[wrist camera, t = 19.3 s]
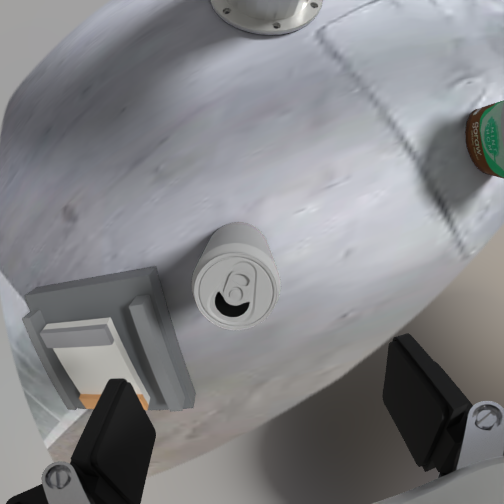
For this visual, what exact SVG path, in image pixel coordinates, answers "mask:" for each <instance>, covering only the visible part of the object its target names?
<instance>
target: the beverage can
mask: <svg viewBox="0 0 504 504" xmlns="http://www.w3.org/2000/svg"><path fill="white" fill-rule="evenodd" d="M280 291H281V280H280V275H279V272H278V269H277V266H276V264H275V261H274V258H273V256H272V253H271V250H270V248H269V245H268V242H267V240H266V238H265V236H264V235H263V234H262V233H261V231H259V230H258V229H257V228H256V227H254V226H252V225H250V224H247V223H242V222H234V223H229V224H226V225H224V226H222V227H221V228H219V229H218V230H217V231H216V232H215V233H214V234H213V235H212V237H211V238H210V240H209V242H208V244H207V246H206V248H205V250H204V252H203V254H202V256H201V258H200V259H199V261H198V263H197V265H196V267H195V270H194V272H193V276H192V293H193V297H194V299H195V302H196V304H197V307H198V308H199V310H200V312H201V313H202V314H203V315H204V317H205V318H206V319H207V320H208V321H210V322H211V323H213V324H214V325H216V326H218V327H221V328H224V329H228V330H245V329H249V328H252V327H254V326H256V325H258V324H260V323H261V322H263V321H264V320H265V319H266V318H267V317H268V316H269V315H270V314H271V312H272V310H273V309H274V307H275V305H276V303H277V301H278V299H279V295H280Z"/></svg>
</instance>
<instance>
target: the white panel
mask: <svg viewBox="0 0 504 504" xmlns="http://www.w3.org/2000/svg"><path fill="white" fill-rule="evenodd" d="M40 336H41V337H42V339H43V341H44V343H45V345H46V347H47V348H53V350H54V352H55V353H56V355H57V357H58V359H59V360H60V362H61V364H62V365H63V367H64V369H65V370H66V372H67V374H68V375H69V377H70V378H71V380H72V381H73V383H74V385H75V386H76V388H77V389H78V391H79V392H80V397H79V399H80V401H81V402H82V404H83V405H84V406H85V408H86V409H94V408H95V406H96V404H97V402H98V400H99V398H100V396H101V394H102V392H103V390H104V388H105V386H106V384H107V382H108V381H109V379H118V378H123V379H126V380H127V382H130V383H131V384H132V386H133V388H134V390H135V392H136V394H137V396H138V398H139V400H140V402H141V404H142V406H143V408H144V410H148V406H149V402H150V396H149V395H148V393H147V391H146V389H145V387H144V385H143V384H142V382H141V380H140V378H139V376H138V374H137V372H136V370H135V368H134V366H133V364H132V362H131V360H130V358H129V356H128V354H127V352H126V350H125V348H124V346H123V344H122V342H121V339H120V337H119V335H118V333H117V331H116V328H115V326H114V324H113V322H112V319H111V317H109V318H100V319H91V320H81V321H71V322H61V323H50V324H47V325H46V326H45V327H44V328H43V330H42V331H41V332H40Z"/></svg>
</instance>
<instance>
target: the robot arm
mask: <svg viewBox="0 0 504 504" xmlns="http://www.w3.org/2000/svg"><path fill="white" fill-rule="evenodd" d="M210 1H211V4H212V6H213V8H214V10H215V12H216V13H217V14H218V15H219V16H220V17H221V18H222V19H223V20H224V21H226V22H227V23H229V24H230V25H232V26H234V27H236V28H238V29H241V30H244V31H246V32H251V33H255V34H263V35H280V34H285V33H291V32H294V31H296V30H299V29H301V28H303V27H305V26H307V25H308V24H309V23H310V22H312V21H313V20H314V19H315V17H316V16H317V14H318V13H319V11H320V9H321V7H322V2H323V0H210ZM226 13H229V14H226ZM275 27H276V28H277V29H275ZM383 401H384V404H385V405H386V407H387V409H388V411H389V413H390V415H391V417H392V419H393V420H394V422H395V424H396V426H397V428H398V430H399V432H400V433H401V435H402V437H403V439H404V441H405V443H406V445H407V447H408V449H409V451H410V452H411V454H412V456H413V458H414V460H415V462H416V464H417V465H418V466H419V467H420V466H422V467H423V469H424V471H425V472H426V471H429V470H431V469H433V468H435V467H436V469H437V470H438V472H440V473H439V476H438V479H435V480H433V481H431V482H429V483H426V484H424V485H422V486H419V487H417V488H414V489H412V490H409V491H407V492H404V493H401V494H399V495H396V496H393V497H390V498H388V499H385V500H382V501H379V502H376V503H373V504H504V409H503V408H502V407H501V406H500V405H499V404H497V403H495V402H491V401H482V402H479V403H477V404H475V405H474V406H473V405H472V404H471V403H470V401H469V400H468V399H467V398H466V396H465V395H464V394H463V393H462V392H461V390H460V389H459V388H458V387H457V386H456V384H455V383H454V382H453V381H452V380H451V378H450V377H449V376H448V375H447V374H446V373H445V371H444V370H443V369H442V368H441V367H440V366H439V364H437V363H436V362H435V361H433V360H432V359H431V357H430V356H429V355H428V354H427V353H426V352H425V351H424V349H423V348H422V347H421V346H420V345H419V344H418V343H417V341H416V340H415V339H414V338H413V337H412V336H411V335H410V334H404V335H401V336H398V337H394V338H393V341H392V342H390V343H389V348H388V357H387V366H386V374H385V382H384V389H383ZM155 438H156V432H155V429H154V427H153V425H152V423H151V421H150V419H149V418H148V416H147V414H146V412H145V410H144V408H143V406H142V404H141V402H140V400H139V398H138V396H137V394H136V392H135V390H134V388H133V386H132V384H131V383H130V382H127V380H126V379H123V378H118V379H109V381H108V382H107V384H106V386H105V388H104V390H103V392H102V394H101V396H100V398H99V400H98V402H97V404H96V406H95V408H94V410H93V412H92V414H91V416H90V418H89V420H88V422H87V425H86V427H85V429H84V431H83V433H82V435H81V437H80V439H79V442H78V444H77V446H76V448H75V450H74V453H73V455H72V457H71V463H70V464H69V463H67V462H59V461H58V462H55V463H52V464H51V465H49V466H48V467H47V468H46V469H45V470H44V472H43V474H42V484H41V485H39V486H36V487H34V488H32V489H30V490H28V491H25V492H23V493H21V494H18V495H16V496H14V497H12V498H10V499H9V500H8V501H7V503H6V504H140V503H141V498H142V494H143V489H144V485H145V480H146V476H147V471H148V467H149V463H150V459H151V454H152V450H153V446H154V442H155Z"/></svg>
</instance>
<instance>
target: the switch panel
mask: <svg viewBox="0 0 504 504" xmlns="http://www.w3.org/2000/svg"><path fill="white" fill-rule="evenodd" d="M25 299H26V301H27V304H28V307H29V309H30V312H29V313H28V314H27V315H26V316H25V317H23V318H22V320H23V323H24V325H25V327H26V330H27V332H28V334H29V337H30V339H31V341H32V343H33V346H34V348H35V350H36V352H37V354H38V356H39V358H40V360H41V362H42V364H43V366H44V368H45V370H46V372H47V374H48V376H49V378H50V379H51V381H52V383H53V385H54V387H55V388H56V390H57V392H58V394H59V395H60V397H61V399H62V400H63V402H64V404H65V405H66V407H67V409H70V410H76V409H77V407H78V408H80V409H86V408H85V406H84V405H83V404H82V402H81V401H80V399H79V397H80V392H79V391H78V389H77V388H76V386H75V385H74V383H73V381H72V380H71V378H70V377H69V375H68V374H67V372H66V370H65V369H64V367H63V365H62V364H61V362H60V360H59V359H58V357H57V355H56V353H55V352H54V350H53V348H47V347H46V345H45V343H44V341H43V339H42V337H41V336H40V332H41V331H42V330H43V328H44V327H45V326H46V325H47V324H50V323H61V322H71V321H81V320H91V319H100V318H109V317H111V319H112V322H113V324H114V326H115V328H116V331H117V333H118V335H119V337H120V339H121V342H122V344H123V346H124V348H125V350H126V352H127V354H128V356H129V358H130V360H131V362H132V364H133V366H134V368H135V370H136V372H137V374H138V376H139V378H140V380H141V382H142V384H143V385H144V387H145V389H146V391H147V393H148V395H149V396H150V402H149V406H148V410H170V411H182V410H183V409H187V408H193V407H194V401H195V395H196V392H195V390H194V387H193V384H192V381H191V379H190V376H189V373H188V370H187V367H186V364H185V362H184V359H183V356H182V353H181V350H180V347H179V343H178V340H177V337H176V334H175V331H174V328H173V325H172V321H171V318H170V315H169V311H168V308H167V304H166V301H165V297H164V294H163V290H162V287H161V283H160V279H159V276H158V272H157V268H156V266H154V267H148V268H143V269H137V270H131V271H126V272H120V273H114V274H109V275H103V276H97V277H92V278H86V279H80V280H75V281H69V282H64V283H58V284H52V285H47V286H41V287H36V288H35V289H33V290H32V291H31V292H29V293H28V294H26V295H25Z"/></svg>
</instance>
